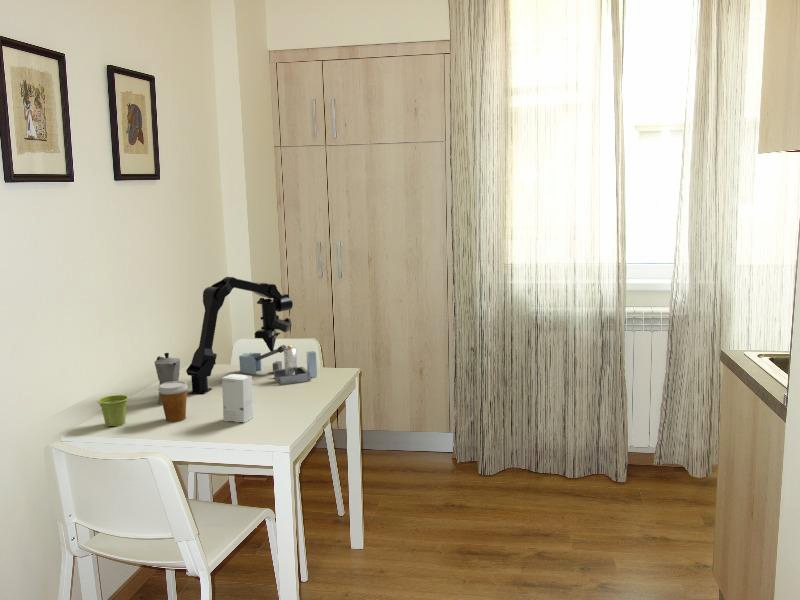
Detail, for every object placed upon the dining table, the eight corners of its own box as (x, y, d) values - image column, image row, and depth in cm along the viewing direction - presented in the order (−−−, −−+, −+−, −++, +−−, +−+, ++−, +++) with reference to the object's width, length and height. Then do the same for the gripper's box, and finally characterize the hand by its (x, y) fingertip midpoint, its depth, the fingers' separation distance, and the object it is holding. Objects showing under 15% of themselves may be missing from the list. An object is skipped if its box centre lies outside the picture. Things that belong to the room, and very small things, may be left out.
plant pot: (121, 417, 248) (118, 393, 247) (136, 422, 242) (133, 397, 241) (95, 425, 241) (92, 400, 240) (110, 430, 235) (107, 404, 234)
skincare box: (223, 421, 240) (219, 377, 238) (233, 416, 246) (230, 373, 243) (245, 423, 237) (242, 379, 235) (255, 417, 243) (252, 374, 240)
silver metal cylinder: (298, 378, 288) (297, 346, 287) (287, 380, 287) (285, 347, 285) (295, 376, 293) (294, 344, 291) (283, 377, 291) (282, 345, 289)
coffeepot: (191, 401, 264) (186, 353, 261) (166, 407, 258) (161, 358, 255) (172, 393, 276) (168, 347, 273) (148, 399, 270) (144, 351, 267)
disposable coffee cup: (166, 415, 249) (163, 381, 247) (194, 414, 249) (191, 380, 247) (157, 424, 240) (153, 389, 238) (185, 423, 240) (182, 388, 238)
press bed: (281, 385, 282) (279, 359, 280) (274, 377, 293) (272, 353, 292) (320, 379, 288) (318, 354, 286) (312, 372, 299) (310, 348, 298)
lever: (284, 351, 298) (281, 346, 297) (256, 362, 301) (253, 357, 301) (287, 349, 301) (284, 344, 301) (259, 360, 305) (257, 355, 304)
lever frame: (277, 374, 298) (276, 357, 297) (239, 373, 302) (238, 356, 301) (283, 370, 305) (282, 353, 304) (246, 369, 308) (245, 352, 307)
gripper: (279, 317, 287) (281, 356, 290) (296, 309, 305) (298, 346, 308) (252, 317, 290) (255, 356, 292) (271, 309, 308) (273, 345, 310)
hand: (271, 350), depth 301 cm, fingers closed, pressing on lever
